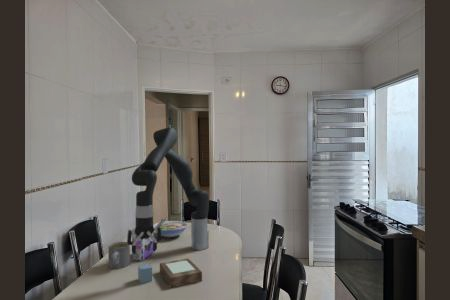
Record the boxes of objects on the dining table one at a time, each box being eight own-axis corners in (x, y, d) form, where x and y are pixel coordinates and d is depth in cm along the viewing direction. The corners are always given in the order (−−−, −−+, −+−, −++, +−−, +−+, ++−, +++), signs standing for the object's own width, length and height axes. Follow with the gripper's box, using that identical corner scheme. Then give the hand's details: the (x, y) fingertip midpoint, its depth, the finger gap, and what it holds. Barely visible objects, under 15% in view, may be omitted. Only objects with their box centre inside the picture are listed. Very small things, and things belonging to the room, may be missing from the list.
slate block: (149, 277, 138) (149, 263, 138) (152, 281, 133) (152, 267, 133) (138, 279, 136) (138, 265, 136) (140, 283, 131) (140, 269, 131)
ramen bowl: (184, 242, 188) (184, 228, 188) (147, 242, 188) (147, 228, 188) (190, 230, 213) (189, 219, 213) (157, 230, 213) (157, 219, 213)
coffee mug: (115, 260, 158) (115, 241, 158) (133, 261, 156) (133, 242, 156) (100, 271, 144) (100, 249, 144) (120, 272, 143) (120, 250, 143)
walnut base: (188, 266, 149) (188, 257, 149) (201, 281, 133) (201, 271, 133) (159, 271, 143) (159, 262, 143) (170, 287, 127) (170, 277, 127)
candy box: (142, 261, 156) (142, 229, 156) (131, 260, 157) (131, 228, 157) (154, 252, 170) (153, 222, 170) (144, 251, 171) (144, 222, 171)
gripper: (158, 212, 141) (158, 247, 141) (126, 215, 135) (126, 252, 135) (162, 215, 134) (162, 252, 134) (128, 218, 128) (128, 257, 128)
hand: (144, 252), depth 134 cm, fingers open, 8 cm apart
